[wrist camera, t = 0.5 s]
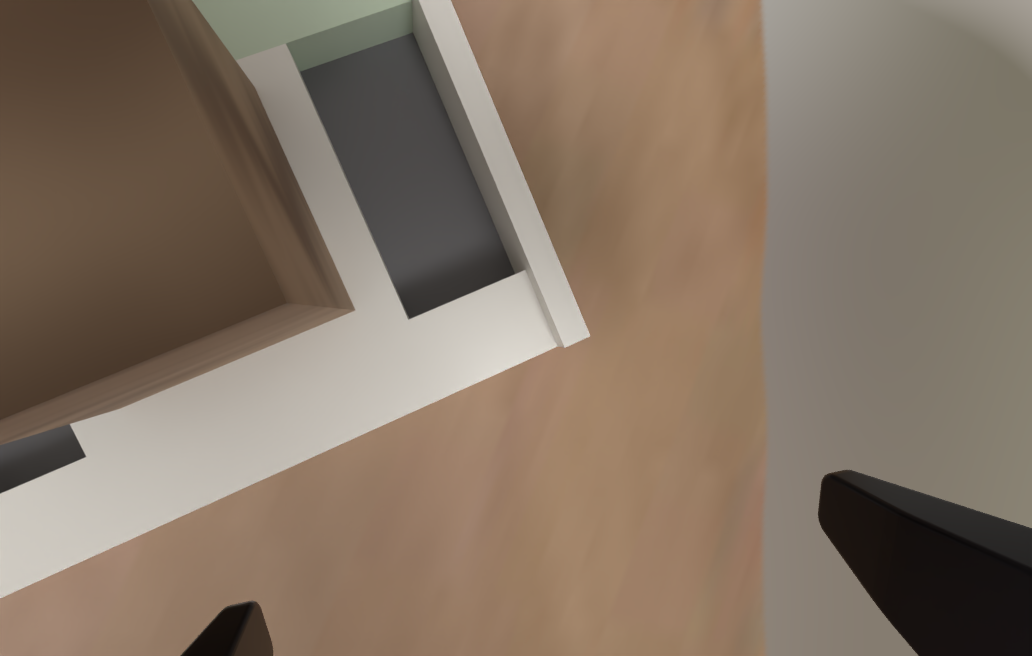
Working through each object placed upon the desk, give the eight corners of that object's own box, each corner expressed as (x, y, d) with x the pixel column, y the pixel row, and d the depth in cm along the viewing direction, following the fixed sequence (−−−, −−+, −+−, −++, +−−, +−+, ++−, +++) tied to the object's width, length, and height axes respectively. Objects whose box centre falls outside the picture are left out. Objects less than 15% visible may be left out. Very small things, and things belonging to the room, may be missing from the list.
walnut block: (355, 310, 19) (287, 302, 9) (119, 408, 18) (-240, 517, 8) (254, 87, 19) (67, -172, 9) (3, 175, 17) (-540, -11, 8)
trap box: (564, 333, 23) (590, 336, 20) (8, 583, 20) (-79, 639, 16) (340, -202, 21) (325, -302, 18) (-312, -21, 18) (-485, -100, 15)
